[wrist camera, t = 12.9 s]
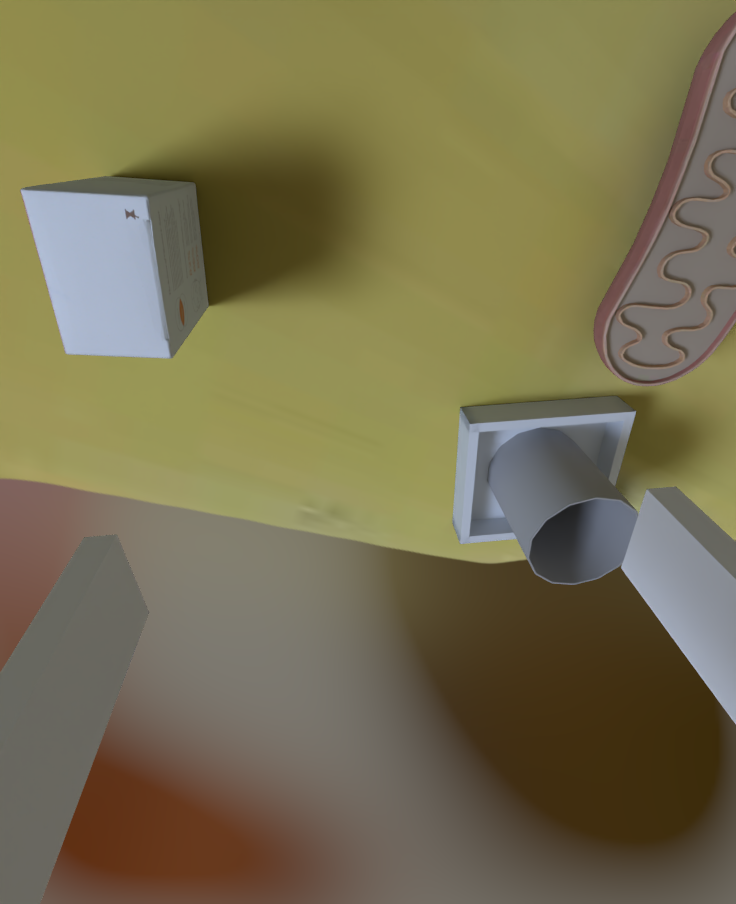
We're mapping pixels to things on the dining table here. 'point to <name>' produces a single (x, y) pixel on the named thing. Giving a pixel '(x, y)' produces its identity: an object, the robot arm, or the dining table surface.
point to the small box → (120, 263)
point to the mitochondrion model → (682, 241)
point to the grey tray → (488, 427)
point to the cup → (560, 507)
